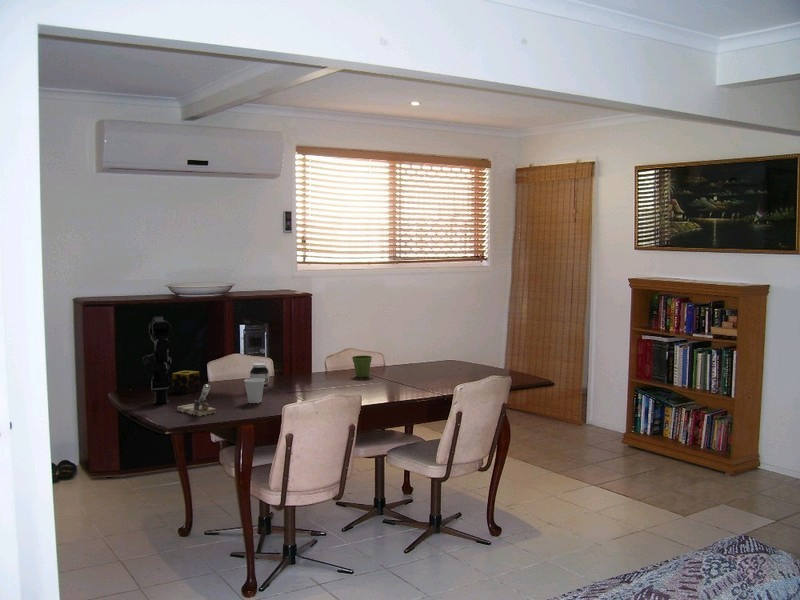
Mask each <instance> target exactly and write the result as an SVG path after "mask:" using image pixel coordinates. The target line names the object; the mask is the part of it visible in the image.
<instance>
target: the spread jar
mask: <svg viewBox="0 0 800 600" xmlns="http://www.w3.org/2000/svg"><path fill="white" fill-rule="evenodd" d="M269 371H270V370H269V369H268V368H267V364H266V363H264V362H256V363H253V364H252V368H251V370H250V371H249V379H251V378H261V379H265V381H264V387H266V386H267V385H268V384H269V382H270V372H269Z"/></svg>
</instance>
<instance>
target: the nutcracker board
mask: <svg viewBox="0 0 800 600" xmlns="http://www.w3.org/2000/svg"><path fill="white" fill-rule="evenodd" d="M176 410H177V412H180V411H181V412H180V413H184V412H185V413H184V414H188V415H192V414H193V415H192V416H195V415H197V417H203V416H202V415H204V416H208V415H207V414H209V415H213V414H212V413H214V414H217V408H214V407H210V404H209V403H208V399H206V398H205V401H204V404H203V405H202V406H199V400H197V399H193V403H189V404H185V405H184V404H183V405H179V406H178V405H177V409H176Z"/></svg>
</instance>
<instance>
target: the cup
mask: <svg viewBox="0 0 800 600" xmlns="http://www.w3.org/2000/svg"><path fill="white" fill-rule="evenodd" d="M243 381H244V385H245V390H246V396H247V403H249V404H251V403H257V404H260V402H261V403H262V400H263V393H264V387H265V386H264V381H265V379H261V378H251V379H250V378H246V379H244V380H243Z"/></svg>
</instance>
